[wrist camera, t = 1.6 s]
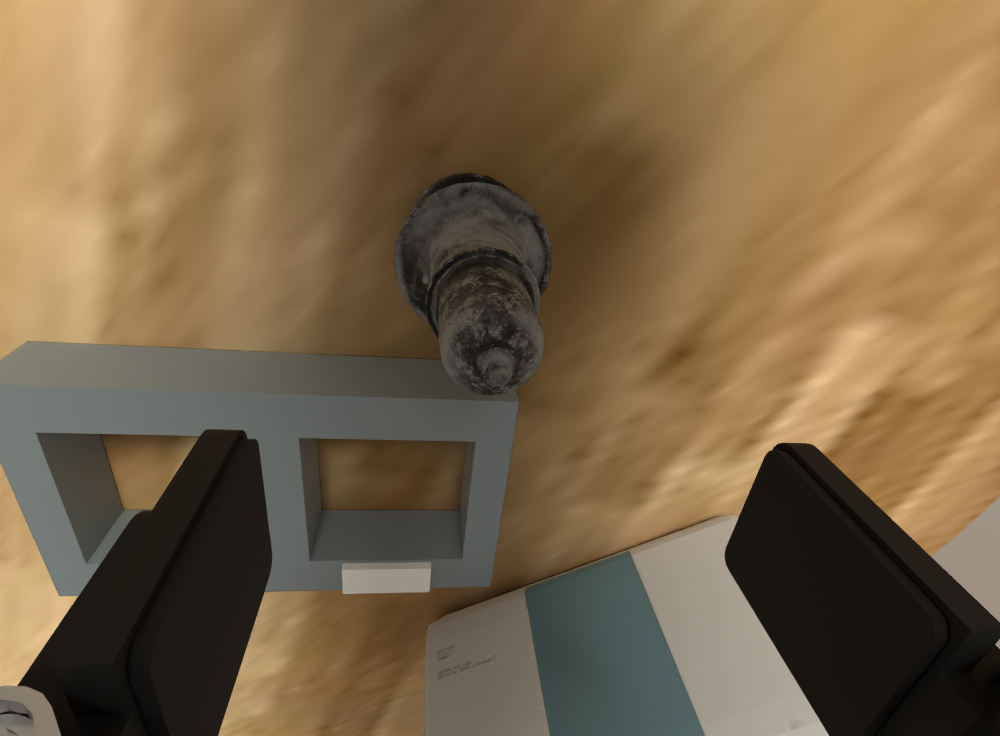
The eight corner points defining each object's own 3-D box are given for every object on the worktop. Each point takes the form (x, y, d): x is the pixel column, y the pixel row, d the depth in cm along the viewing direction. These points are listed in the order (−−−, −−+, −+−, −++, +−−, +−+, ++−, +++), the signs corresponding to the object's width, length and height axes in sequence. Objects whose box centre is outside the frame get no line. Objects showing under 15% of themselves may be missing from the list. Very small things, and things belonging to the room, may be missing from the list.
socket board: (27, 341, 23) (-43, 389, 19) (508, 362, 26) (520, 407, 23) (98, 539, 29) (54, 603, 25) (484, 537, 32) (491, 593, 28)
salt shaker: (556, 193, 22) (667, 305, 12) (508, 316, 25) (565, 496, 14) (419, 144, 21) (409, 224, 10) (384, 280, 23) (346, 454, 13)
